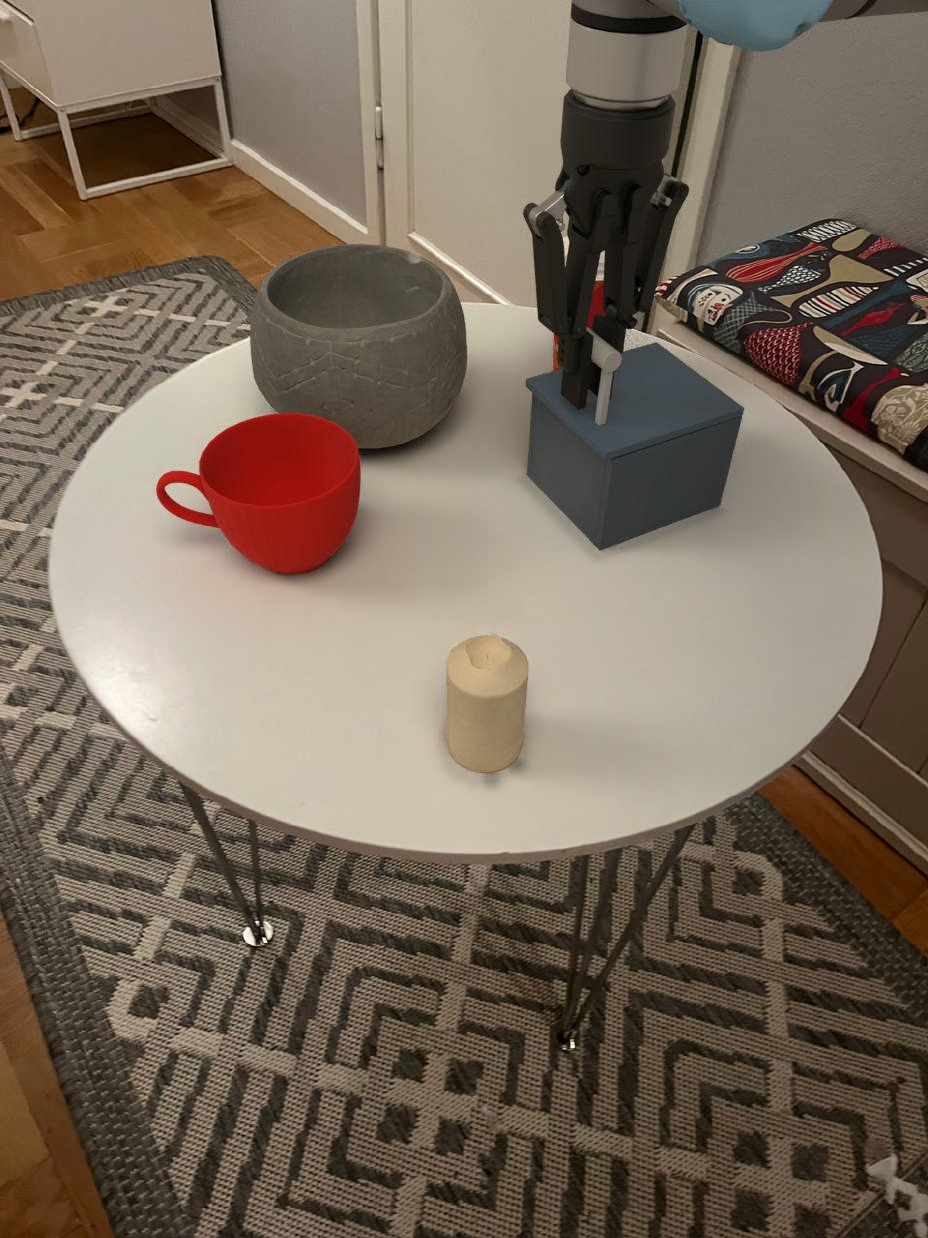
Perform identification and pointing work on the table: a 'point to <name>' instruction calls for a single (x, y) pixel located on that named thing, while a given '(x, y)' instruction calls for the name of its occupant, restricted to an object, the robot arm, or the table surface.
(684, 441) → the open box
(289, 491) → the ceramic cup
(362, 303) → the bowl
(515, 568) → the table surface
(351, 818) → the table surface
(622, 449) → the box lid
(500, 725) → the candle
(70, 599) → the table surface
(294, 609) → the table surface
